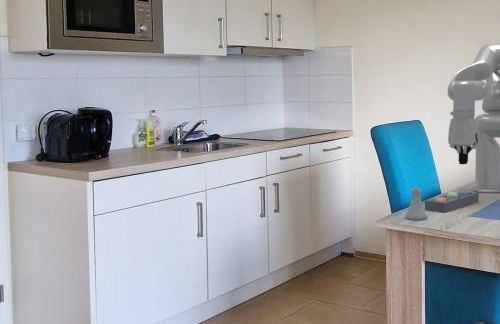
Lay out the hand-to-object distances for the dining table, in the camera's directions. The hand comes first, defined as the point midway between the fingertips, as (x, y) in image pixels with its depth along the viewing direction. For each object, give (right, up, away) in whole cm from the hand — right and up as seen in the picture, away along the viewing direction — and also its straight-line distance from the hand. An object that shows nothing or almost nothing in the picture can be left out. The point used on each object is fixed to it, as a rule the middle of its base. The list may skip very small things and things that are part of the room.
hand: (463, 163), depth 231 cm
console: (-5, -16, -3) cm, 17 cm away
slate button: (+1, -13, +2) cm, 13 cm away
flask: (-23, -19, -21) cm, 36 cm away
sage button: (-5, -14, -3) cm, 15 cm away
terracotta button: (-11, -15, -9) cm, 21 cm away
